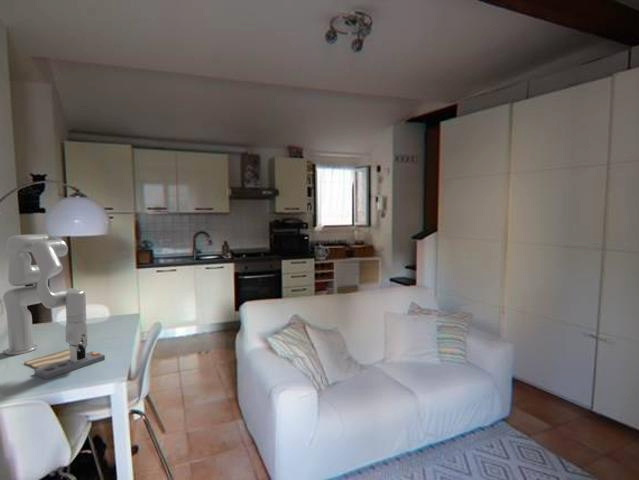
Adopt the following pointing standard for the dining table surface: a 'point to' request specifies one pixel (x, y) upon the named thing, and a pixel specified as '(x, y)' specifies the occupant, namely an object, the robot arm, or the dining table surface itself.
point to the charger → (75, 353)
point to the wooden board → (49, 359)
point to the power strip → (67, 365)
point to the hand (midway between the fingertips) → (78, 357)
